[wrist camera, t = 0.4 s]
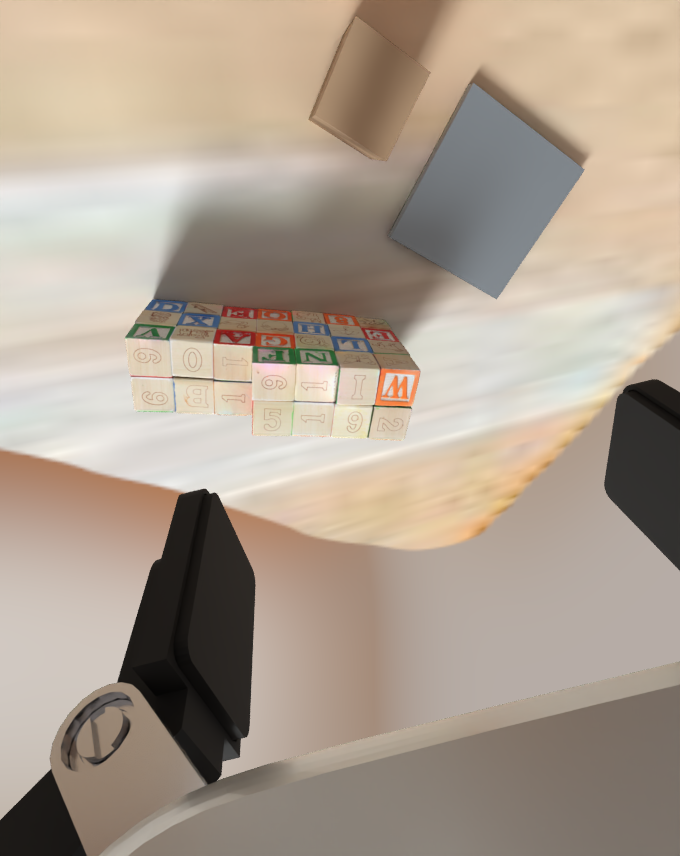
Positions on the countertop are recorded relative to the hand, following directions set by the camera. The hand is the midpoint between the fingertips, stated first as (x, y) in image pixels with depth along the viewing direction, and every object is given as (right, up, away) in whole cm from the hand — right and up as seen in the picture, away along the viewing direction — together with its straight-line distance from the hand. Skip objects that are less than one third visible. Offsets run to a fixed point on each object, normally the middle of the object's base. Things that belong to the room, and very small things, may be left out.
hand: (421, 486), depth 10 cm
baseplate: (+10, +21, +28) cm, 37 cm away
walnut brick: (-1, +26, +23) cm, 35 cm away
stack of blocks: (-8, +10, +33) cm, 35 cm away
